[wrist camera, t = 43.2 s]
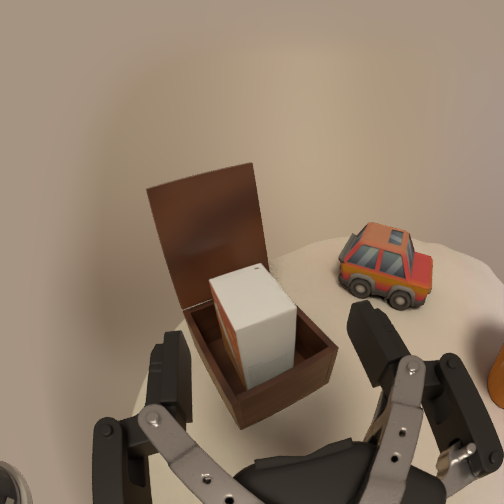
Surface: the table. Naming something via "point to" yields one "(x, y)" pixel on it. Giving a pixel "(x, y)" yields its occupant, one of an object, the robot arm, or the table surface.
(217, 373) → the case
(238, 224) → the lid
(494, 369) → the flower pot
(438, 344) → the table surface
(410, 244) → the toy car
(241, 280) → the small box
